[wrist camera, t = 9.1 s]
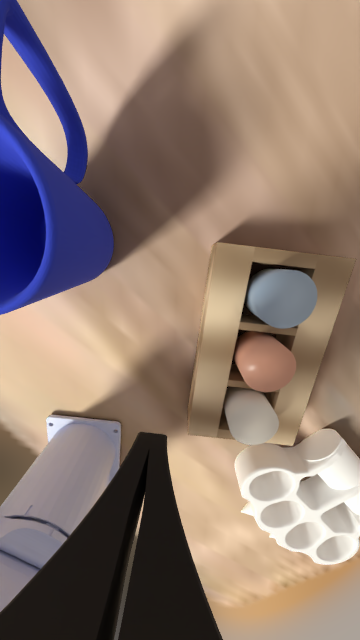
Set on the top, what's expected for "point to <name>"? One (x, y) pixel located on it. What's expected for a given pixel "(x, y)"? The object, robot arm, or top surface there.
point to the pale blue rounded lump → (281, 297)
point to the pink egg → (263, 361)
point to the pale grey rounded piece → (249, 415)
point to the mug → (44, 191)
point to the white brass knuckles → (305, 494)
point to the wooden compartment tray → (226, 318)
